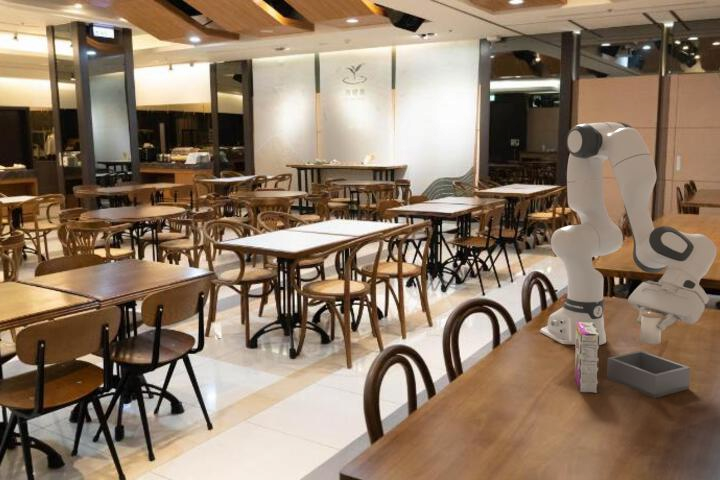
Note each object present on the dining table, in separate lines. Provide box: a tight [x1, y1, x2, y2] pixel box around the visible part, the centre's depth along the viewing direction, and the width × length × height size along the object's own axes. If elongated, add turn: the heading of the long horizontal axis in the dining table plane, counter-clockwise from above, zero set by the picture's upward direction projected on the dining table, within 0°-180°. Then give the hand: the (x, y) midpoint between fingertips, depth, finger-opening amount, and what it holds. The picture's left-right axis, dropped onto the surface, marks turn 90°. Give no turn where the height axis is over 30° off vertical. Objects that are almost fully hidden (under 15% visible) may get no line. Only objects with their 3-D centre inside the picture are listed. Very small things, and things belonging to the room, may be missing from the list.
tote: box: [606, 350, 691, 399], centre depth 178 cm, size 16×13×6 cm
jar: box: [639, 310, 663, 345], centre depth 176 cm, size 5×5×8 cm
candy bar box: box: [574, 322, 600, 394], centre depth 177 cm, size 11×5×16 cm, turn 168°
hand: (649, 325), depth 176 cm, fingers closed on jar, 5 cm apart
